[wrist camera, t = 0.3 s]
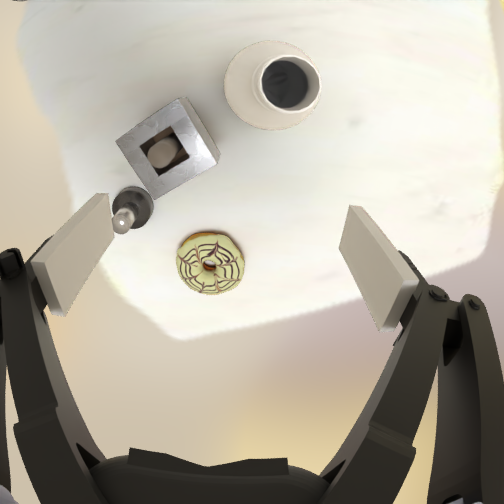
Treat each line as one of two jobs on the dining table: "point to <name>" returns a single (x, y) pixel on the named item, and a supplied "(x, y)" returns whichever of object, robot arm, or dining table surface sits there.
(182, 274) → the decorated donut
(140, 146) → the square steel tube
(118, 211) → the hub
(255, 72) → the water bottle
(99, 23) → the dining table surface
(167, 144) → the stand
